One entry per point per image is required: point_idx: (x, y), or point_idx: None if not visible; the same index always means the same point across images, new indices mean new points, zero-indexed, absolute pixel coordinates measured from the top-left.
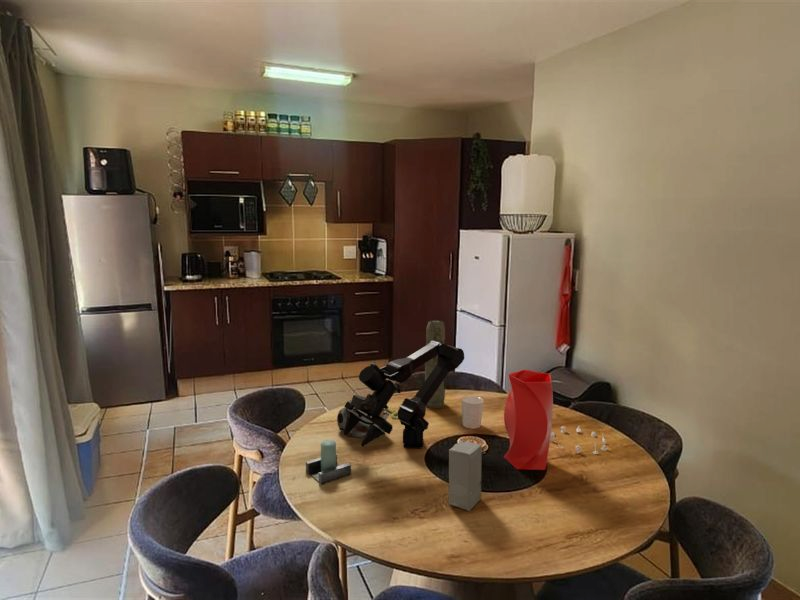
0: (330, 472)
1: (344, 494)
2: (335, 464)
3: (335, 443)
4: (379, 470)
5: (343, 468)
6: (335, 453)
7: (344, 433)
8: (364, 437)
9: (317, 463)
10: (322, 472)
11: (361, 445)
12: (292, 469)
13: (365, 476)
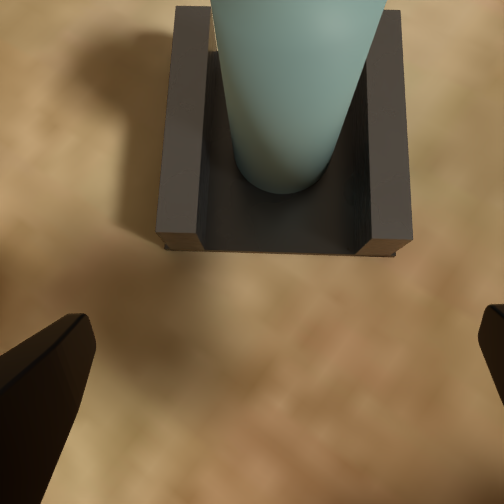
0: (171, 72)
1: (11, 97)
2: (238, 146)
3: (252, 36)
4: (78, 451)
5: (164, 172)
6: (232, 92)
7: (493, 314)
8: (10, 380)
9: (362, 87)
10: (196, 25)
11: (67, 317)
12: (445, 13)
13: (83, 312)
